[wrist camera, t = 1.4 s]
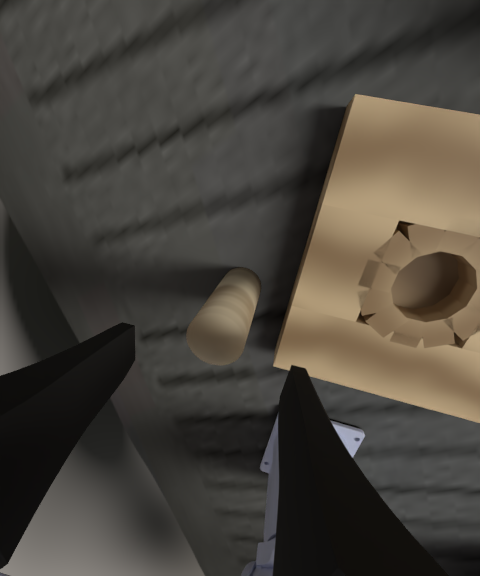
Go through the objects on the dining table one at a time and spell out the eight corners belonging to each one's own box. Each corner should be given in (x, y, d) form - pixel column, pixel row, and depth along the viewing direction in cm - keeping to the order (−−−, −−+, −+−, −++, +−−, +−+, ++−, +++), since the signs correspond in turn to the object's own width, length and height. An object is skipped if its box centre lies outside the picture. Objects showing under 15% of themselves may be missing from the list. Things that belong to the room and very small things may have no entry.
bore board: (466, 399, 21) (486, 425, 19) (275, 348, 23) (273, 366, 21) (646, 157, 14) (711, 153, 12) (346, 106, 16) (355, 94, 13)
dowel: (256, 308, 22) (238, 371, 14) (219, 298, 22) (183, 356, 15) (265, 272, 20) (249, 323, 13) (225, 263, 21) (189, 307, 13)
